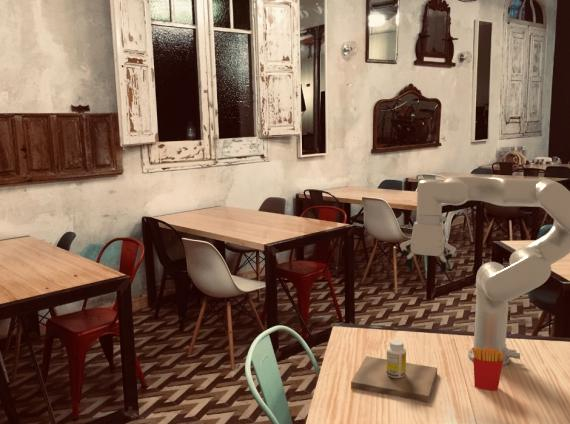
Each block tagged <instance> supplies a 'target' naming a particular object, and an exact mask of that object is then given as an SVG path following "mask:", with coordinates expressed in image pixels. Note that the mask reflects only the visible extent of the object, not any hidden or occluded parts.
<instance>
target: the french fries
mask: <svg viewBox="0 0 570 424" xmlns="http://www.w3.org/2000/svg"><path fill="white" fill-rule="evenodd" d="M471 349H472V350H473V354H474V355H473V361H472V362H473V378H474V381H473V382H474V387H475V388H476V389H478V390H484V391H491V392H495V391H496V392H497V391H498V390H499V385H500V379H501V374H502V369H503V366H502V365H503V359H502V357H503V352H501V353H499V352H498V349H494V351H493V349H491V350H490V351H489V348H487V349H486V347H484V350H482V351H481V349H480V347H478V349H477V348H474V347H472V348H471Z"/></svg>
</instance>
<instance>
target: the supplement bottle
mask: <svg viewBox="0 0 570 424" xmlns="http://www.w3.org/2000/svg"><path fill="white" fill-rule="evenodd" d="M386 359H387V374H388V375H389V376H390V377H393V378H401V377H404V376H405V373H406V363H407V350H406V348H405V346H404V341H402V340H401V339H391V340H389V346H388V347H387V348H386Z"/></svg>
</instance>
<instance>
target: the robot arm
mask: <svg viewBox="0 0 570 424" xmlns="http://www.w3.org/2000/svg"><path fill="white" fill-rule="evenodd" d="M416 193H417V196H416V197H417V198H416V221H414V223H413V226H412V233H411V238H410V239H408V240H406V241H404V242H401V243H400V244H399V247H400V249H401V252H402V254H403V255H405V257H406V258H407V268H408V271H409V272H412V271H413V270H414V255H422V256H431V257H432V256H433V257H439V259H440V260H441V261H440V272H439V273H440V275H444V272H446V271H447V262H448V261H449V260H450V259H451V258H452V257H453V256H454V254H455V252H456V251H457V248H456V247H455V246H454V245H451V244H449V243H448V242H446V235H445V234H446V233H445V232H446V231H445V225H444V223H442V222H444V221H445V222H446V221H447V216H444V215H442V212H443V211H442V210H443V209H442V208H443V204H444V205H452V206H460V205H463V204H465V203H466V202H468V201H481V202H484V203H489V204H492V205H495V206H501V207H533V208H535V207H536V208H537V207H538V208H542V210H544V211H545V212H546V213H547V214H548V215H549V216H550V217H551V218H552V219H553V225H552V226H551V228H550V230H548V232H547V233H546V234H544V235H543V236H541V237H540V238H537V239H536V240H533V241H532V242H530V243H528V244H526V245H523V246H522V247H520V248H518V249H516V250H515V251H514V252H512V253H511V254H510V257H509V266H507V267H505V266H504V265H503V264H501V263H499V262H496V261H488V262H486V263H483V264H482V265H481V266H480V267H479V269H478V270H477V273H476V279H475V291H476V293H475V294H476V296H475V297H476V299H475V300H476V301H475V302H476V303H475V304H476V305H475V317H474V334H473V335H474V336H473V348H477V349H478V347H480V349H481V351H482V350H484V347H486V349H487V348H489V351H490V350H491V349H493V351H494V349H498V352H499V353H501V352H503V357H502V359H503V365H502V367H504V366H506V365H508V364H509V363H510V359H512V358H513V359H517V360H520V359H521V352H517V349H511V348H508V347H507V341H506V340H507V328H508V327H507V326H508V313H509V302H511V301H514V300H516V299H517V298H519V297H521V296H523V295H525V294H527V293H529V292H531V291H534V290H535V289H536V288H539V287H540V286H543V285H544V283H546V282H547V281H548V279H549V278H550V276H551V274H552V265H553V264H554V263H556V262H558V261H560V260H562V259H563V258H565V257H566V256H568V255H569V254H570V190H569V189H567V187H565V186H564V185H563V184H562V183H559V182H557V181H555V180H553V179H549V178H520V177H519V178H514V177H513V178H509V177H506V178H505V177H502V178H501V177H482V176H481V177H480V176H477V177H476V176H451V177H448V178H445V179H444V181H443V182H442V181H441V180H439V179H432V178H431V179H427V178H426V179H421V180H419V181H418V183H417V192H416ZM409 245H410V252H409V250H408V248H407V247H408V246H409ZM445 248H446V249H447V250H449V252H448V254H447V255H446V254H445V253H444V252H445V251H446V250H445ZM473 355H474V354H473V350H472V348H470V349H469V350H468V351H467V356H468V358H469V360H471V361H472V362H473Z"/></svg>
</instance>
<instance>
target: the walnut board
mask: <svg viewBox="0 0 570 424" xmlns="http://www.w3.org/2000/svg"><path fill="white" fill-rule="evenodd" d="M437 375H438V367H435V366H429V365H423V364H417V363H410V362H406V373H405V376H404V377H401V378H393V377H390V376H389V375H388V374H387V358H381V357H380V358H379V357H375V356H374V357H373V356H367V355H366V356H365V358H364V360H363V361H362V362H361V364H360V366H359V368H358V369H357V371H356V372H355V374H354V376H353V377H352V379H351V382H350V389H355V390H358V391H359V390H360V391H364V392H370V393H375V394H381V395H386V396H391V397H397V398H401V399H408V400H412V401H418V402H424V403H428V404H429V402H430V399H431V395H432V392H433V389H434V386H435V382H436V378H437Z"/></svg>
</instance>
